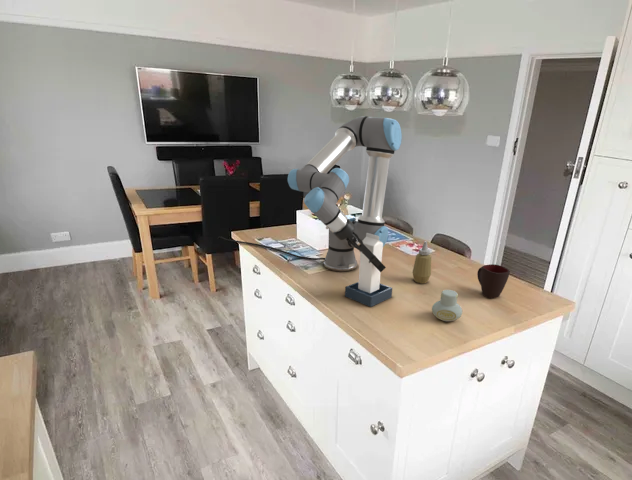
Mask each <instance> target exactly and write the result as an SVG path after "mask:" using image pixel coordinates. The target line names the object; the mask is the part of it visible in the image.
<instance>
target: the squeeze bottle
mask: <svg viewBox="0 0 632 480" xmlns="http://www.w3.org/2000/svg"><path fill="white" fill-rule="evenodd" d="M411 273H412V278H413V281H414V282H415V283H416V284H417V283H418V284H427V283H428V281H429V279H430V277H431V276H432V255H431V250H430V249H429V248H428V241H424V242H423V244H422V247H421V248H419V249H418V253H417V254H416V255H415V259H414V264H413V267H412V272H411Z"/></svg>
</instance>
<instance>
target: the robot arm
mask: <svg viewBox="0 0 632 480" xmlns="http://www.w3.org/2000/svg"><path fill="white" fill-rule="evenodd" d="M402 139H403V135H402V128H401V125H400V123H399V122H398V120H397V119H394V118H390V117H382V116H381V117H380V116H367V115H362V116H361V115H359V116H357V117H354V118H352V119H350V120H348V121H346V122H345V123H343V124H342V125H341V126H340V127H339V128H337V129H336V131H335V132H334V136H333V137H332V138H331V139H330V140H329V141H328V142H327V143H326V144H325V145H324V146H323V147H322V148H321V149H320V150H319V151H318V152H317V153H316V154H315V155H314V156H313V157H312V158H311V159H310V160H309V161H308V162H307V163H306V164H305V165H304V166H303V167H302V168H301V169H300V168H293V169H291V170H289V173H287V174H288V175H287V183H288V187H289V188H290V189H291V190H293V191H298V192H303V193H307V194H306V195H305V197H304V198H303V203H304V205H305V206H306V207H307V209H308V210H309V211H310V212H311V213H312V214H313V215H314V216H315V217H316V218H317V219H318V220H319V221H320V222H321V223H322V224H323V225H324V226H325V229H326V230H328V249H327V252H326V254H325V257H308V256H302V255H297V254H294V253H291V252H288V251H286V250H282V249H279V248H275V247H272V246H268V245H264V244H261V243H254V242H248V241H243V240H235V239H227V238H225V237H223V236H218V237H217V238H216V240H220V239H221V240H223V241H225V242H229V243H235V244H236V243H237V244H245V245H251V246H257V247H261V248H266V249H270V250H273V251H276V252H280V253H282V254H285V255H289V256H292V257H294V258H298V259H303V260H310V261H311V260H312V261H322V260H323V267H324V268H326V269H327V270H330V271H334V272H350V271H351V272H352V271H354V270H356V269H357V267H358V261H357V258H356V254H355V249H357V251H359V252H360V251H361V252H362V253H363V254H364V255H365V256H366V257H367V258H368V259H369V263H370V262H371V263H372V264H373V265H374V266H375V267H376V268H377V269H378V270H379V271H380V272H381V273H382V272H383V271H384V270H385V269H386V266H385V265H384V263H383V262H380V261H379V260H378V258H377V257H376V256H375V255H374V254H373V253H372V252H371V251H370V250H369V249H368V248H367V247H366V246H365V245H364V244H363V240H364V238H365V237H366V233H369V234H373V235H377V236H379V241H381V242H382V243H383V248H384V247H385V245H386V243H387V241H388V237H389V229H388V227H387V226H386V225H385V224H386V223H385V222H386V221H385V220H384V219H383V211H384V203H385V196H386V188H387V183H388V175H389V169H390V168H389V167H390V162H391V161H390V160H391V158H393V157H394V156H395V152H396V151H398V150H400V147H401V145H402ZM356 147H364V148H365V152H366V153H367V155H368V161H367V162H368V163H367V171H366V178H365V187H364V196H363V202H362V203H363V205H362V211H361V214H360V215H359V216H358V217H357V218H356V216H354V215H350V214H348V215H347V214H345V213H344V212H343V211H342V209H340V208H339V207H338V205H337V204H338V202H339V200H340V199H341V197H342V196H343V194H344V192H345V191H346V189H347V187H348V185H349V184H350V176H349V174H348V173H347V172H346V171H345V170H344V169H342V168H340V167H335V168H333V167H334V166H335V165H336V164H337V163H338V162H339V161H341V159H342V158H343V157H344V156H345V155H346V154H347V153H348V152H349V151H353V150H354V149H355V148H356ZM328 172H329V173H328Z"/></svg>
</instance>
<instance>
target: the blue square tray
mask: <svg viewBox="0 0 632 480" xmlns="http://www.w3.org/2000/svg"><path fill="white" fill-rule="evenodd" d="M358 283H359V281H357V282H354V283H352V284H348V285H347V286H345V287H344V290H345V291H344V297H345V298H348V299H350V300H353V301H355V302H357V303H360V304H362V305H364V306H367V307H369V308H372V307H375V306H376V305H379V304H380V303H383V302H385V301H387V300H389V299H391V298H393V287H391V286H389V285H386V284H383V283H381V282H380V285H379V290H376V291H374V292H372V293H368V292H365V291H362V290H360V289H358Z"/></svg>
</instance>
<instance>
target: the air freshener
mask: <svg viewBox="0 0 632 480" xmlns="http://www.w3.org/2000/svg"><path fill="white" fill-rule="evenodd" d="M458 297H459V294H458V292H457V291H455V290H452V289H443V290H442V291H441V293H440V299H439V300H438V301H436V302H434V303H433V305H432V306H431V312H432V314H433V315H434V317H436V318H437V319H439V320H441V321H443V322H455V321H457V320H458V319H460V318H461V317H462V315H463V309H462V308H463V307H462V306H461V305H460V304H459V303H458Z"/></svg>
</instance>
